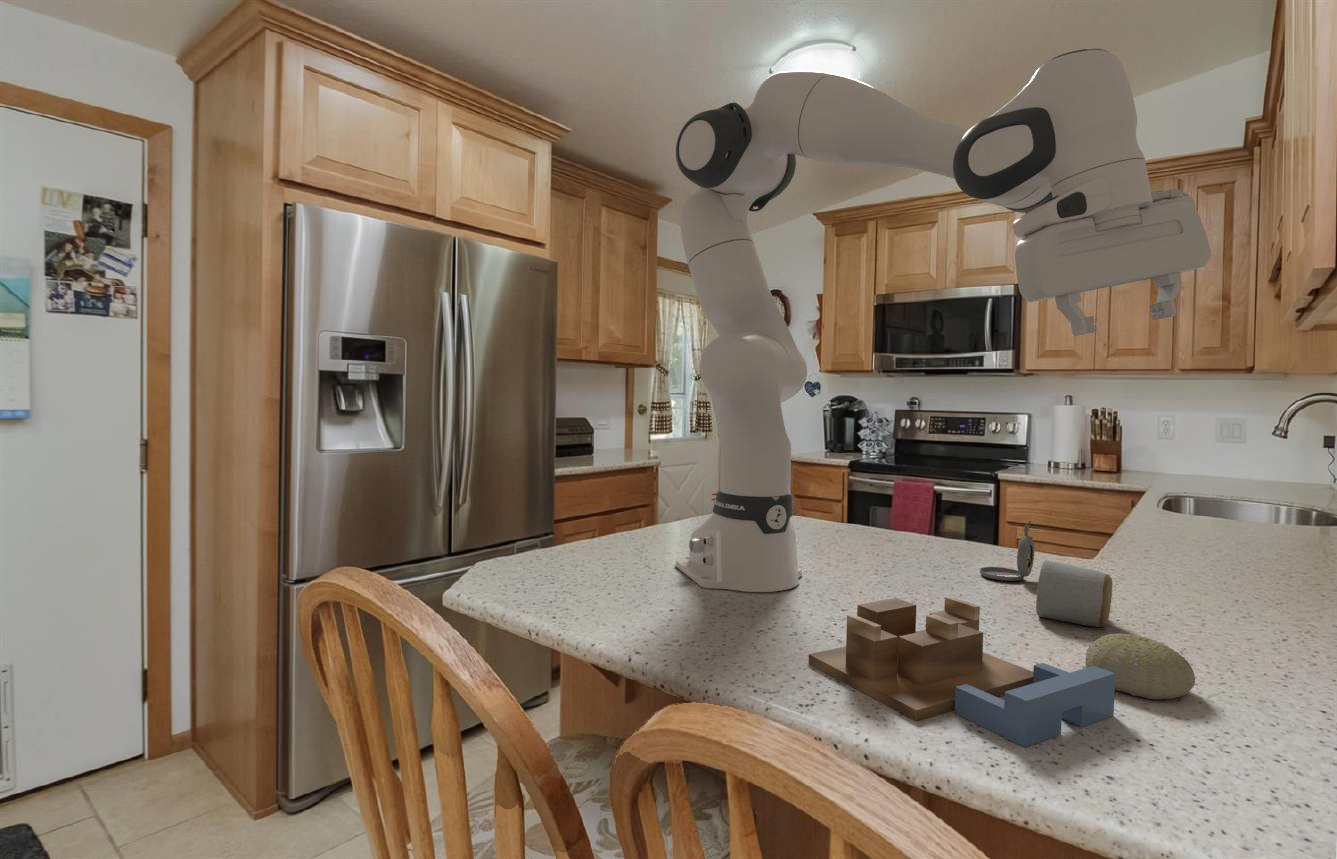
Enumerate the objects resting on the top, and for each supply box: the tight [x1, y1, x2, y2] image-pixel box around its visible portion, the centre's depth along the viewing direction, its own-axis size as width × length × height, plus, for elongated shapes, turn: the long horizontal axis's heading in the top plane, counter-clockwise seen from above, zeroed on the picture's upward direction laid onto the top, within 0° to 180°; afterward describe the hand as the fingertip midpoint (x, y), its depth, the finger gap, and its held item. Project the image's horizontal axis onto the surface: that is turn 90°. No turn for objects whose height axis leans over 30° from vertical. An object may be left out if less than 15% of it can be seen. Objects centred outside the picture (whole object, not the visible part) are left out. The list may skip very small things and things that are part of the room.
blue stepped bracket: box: [954, 662, 1116, 748], centre depth 63 cm, size 7×13×4 cm, turn 118°
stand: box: [808, 596, 1033, 722], centre depth 73 cm, size 15×18×7 cm
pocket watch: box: [979, 520, 1035, 582], centre depth 112 cm, size 8×8×10 cm
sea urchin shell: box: [1084, 633, 1196, 701], centre depth 71 cm, size 9×8×8 cm
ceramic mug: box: [1035, 559, 1113, 628], centre depth 92 cm, size 11×8×8 cm
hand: (1124, 326), depth 75 cm, fingers open, 8 cm apart
